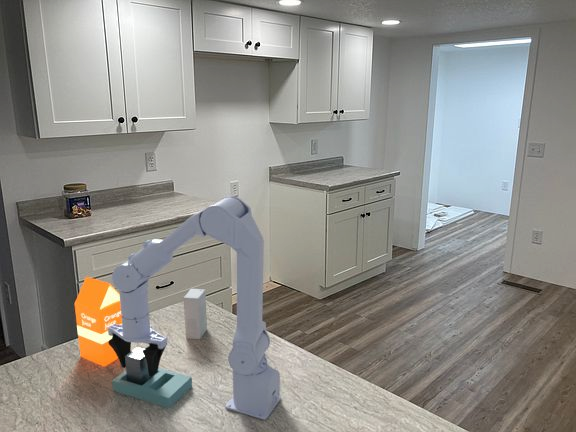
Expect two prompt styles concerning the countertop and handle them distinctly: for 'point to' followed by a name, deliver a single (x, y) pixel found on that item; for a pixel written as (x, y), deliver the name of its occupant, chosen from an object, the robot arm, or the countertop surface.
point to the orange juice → (97, 320)
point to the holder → (156, 387)
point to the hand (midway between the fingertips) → (139, 369)
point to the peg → (137, 367)
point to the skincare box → (195, 313)
